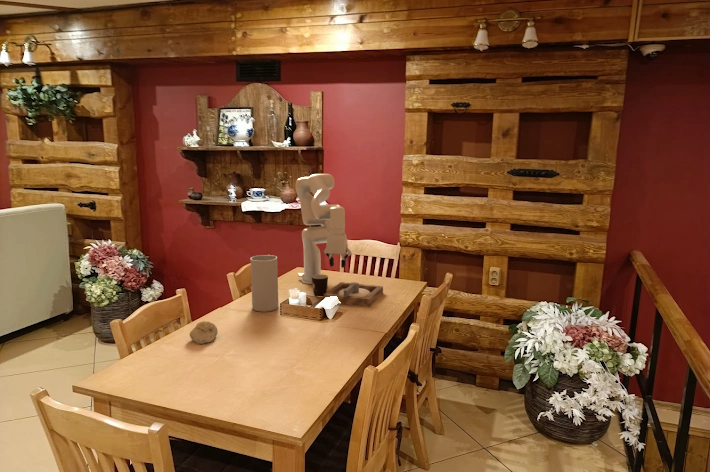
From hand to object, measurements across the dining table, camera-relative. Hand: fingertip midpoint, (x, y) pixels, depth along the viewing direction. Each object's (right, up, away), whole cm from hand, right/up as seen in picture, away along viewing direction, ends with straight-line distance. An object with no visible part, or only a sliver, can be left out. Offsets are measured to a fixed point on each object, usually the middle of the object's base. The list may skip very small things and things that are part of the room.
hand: (337, 266), depth 254 cm
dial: (+8, -15, +3) cm, 17 cm away
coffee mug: (-9, -16, +12) cm, 22 cm away
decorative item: (-53, -27, -49) cm, 77 cm away
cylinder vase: (-35, -20, -10) cm, 41 cm away
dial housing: (+8, -17, +6) cm, 20 cm away
